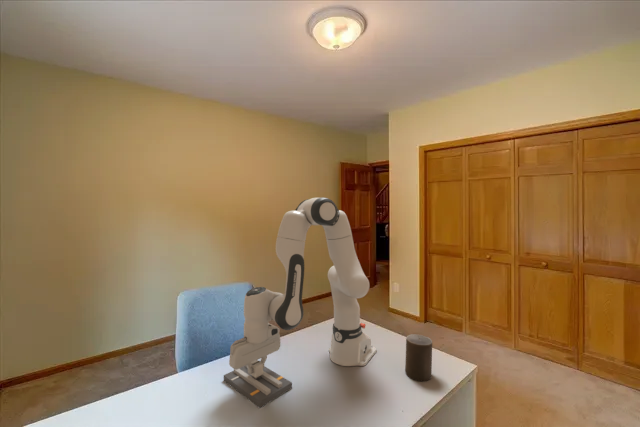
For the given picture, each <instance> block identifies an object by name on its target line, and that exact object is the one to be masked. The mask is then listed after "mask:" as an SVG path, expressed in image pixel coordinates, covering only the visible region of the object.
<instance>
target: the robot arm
mask: <svg viewBox="0 0 640 427" xmlns="http://www.w3.org/2000/svg"><path fill="white" fill-rule="evenodd" d="M311 226H322V228H323V229H324V230H323V231H324V234H325V240H326V246H327V251H328V255H329V259H330V261H331V262H332V264H333V265H332V266H331V267H330V268H329V269H328V271H327V279H328V281H329V284H330V291H331V298H332V302H333V324H332V334H331V338H330V339H331V340H330V347H328V352H329V359H330V360H331V362H333V363H334V364H337V365H338V366H342V367H354V366H361V367H364V366H367V364H368V363H369V361H370V360H372V357H373V356H374V355H375V354H376V352H377V348H376V347H375V346H374V345H372V341H371V338H370V336H369V335H368V334H366V333H365V332H363V329H365V328H366V324H365V323H362V322H361V321H360V320H361V319H360V318H361V308H360V304H359V302H358V299H361V298H364V297H365V296H366V295H367V294H368V293H369V290H370V280H369V279H368V277H367V276H366V274H365V272H364V270H363V268H362V266H361V263H360V260H359V259H358V258H359V257H358V255H357V252H356V248H355V243H354V237H353V232H352V228H351V225H350V221H349V219H348V216H347V214H346V213H345V211H343V210H340V209H338V206H337V205H336V203H335V202H334V201H333V200H332V199H330V198H328V197H323V196H322V197H312V198H309V199H308V198H307V199H304V200H302V201H301V202H300V203H299V204H298V206H296V208H295V209H294V210H289V211H286V212H285V213H284V214H283V217H282V219H281V222H280V225H279V227H278V231H277V236H276V239H275V240H276V241H275V254H276V257H277V258H278V260H279V261H280V262H281V264H282V265H283V267H284V270H285V274H286V275H285V276H286V279H285V286H284V288H285V289H284V293H282V292H279V291H278V292H277V291H272V290H269V289H268V288H267V287H264V286H258V287H257V286H256V287H253V288H251V289H249V290H247V292H246V293H245V296H244V302H243V317H244V323H243V337H242V338H240V339H236V340H235V341H233V343H232V344H231V345H230V349H229V350H230V351H229V352H230V354H229V361H228V364H229V366H230V367H231V368H232V369H233V370H234V369H235V370H237V369H239V368H241V367H243V366H245V365H246V367H247V368H248V373H249V374H252V373H254V368H252V367H250V366H251V363H252V362H254V361H256V360H258V361H260V362H262V363H263V368H264V366H265V363H266V361H267V358H268V356H269V355H271V354H274V353H275V352H277V351H279V350H280V348H281V335H280V329H281V330H282V331H291V330H293V329H295V328H296V327H298V326H299V325H300V324H301V322H302V320H303V318H304V306H303V290H304V279H305V278H304V277H305V246H306V241H307V240H306V239H307V233H308V231H309V229H310V227H311ZM270 321H274V322H275V323H276V325H274V324H271V323H269V322H270ZM277 325H278V326H277Z"/></svg>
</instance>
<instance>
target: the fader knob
mask: <svg viewBox="0 0 640 427" xmlns="http://www.w3.org/2000/svg"><path fill="white" fill-rule="evenodd" d="M260 361H261V360H259V359H258V360H256V361H254V362H252V363H251V366H250V367H252V368H254V373H252V374H250V375H252V377H253V378H254V379H258V378H260V375H262V374H263V363H262V362H260Z"/></svg>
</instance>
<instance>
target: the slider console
mask: <svg viewBox="0 0 640 427" xmlns="http://www.w3.org/2000/svg"><path fill="white" fill-rule="evenodd" d="M223 382H225V383H226V384H227V385H229V386H230V387H231V388H233V389H234V390H235V391H236V392H238V393H239V394H240V395H242V396H243V397H245V398H246V399H247V400H249V402H251V403H252V404H253V405H255V406H256V407H258V408H259V409H261V408H262V407H264V406H266V405H267V404H269V403H270V402H272V401H273V400H275V399H277V398H278V397H281V395H283V394H285V393H286V392H288V391H289V390H291V389H292V388H293V382H292V381H291V380H288V379H287V378H285V377H284V376H282V375H280V374H278V373H276V372H275V371H273V370H272V369H270V368H268V367H266V366H265V365H264V368H263V374H262V375H260V378H258V379H254V378H253V377H252V375H250V374H249V373H248V368H247V367H246V365H245V366H243V367H241V368H239V369H237V370H235V369H234V368H233V370H232V371H230V372H227V373H225V374H224V375H223Z"/></svg>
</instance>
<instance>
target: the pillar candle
mask: <svg viewBox="0 0 640 427" xmlns="http://www.w3.org/2000/svg"><path fill="white" fill-rule="evenodd" d="M432 365H433V340H432V339H431V337H428V336H425V335H423V334H418V333H417V334H414V333H413V334H408V335H406V338H405V369H404V372H405V374H406V376H407V377H408V378H410V379H412V380H414V381H417V382H427V381H430V380H431V379H432V372H433V371H432Z"/></svg>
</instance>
